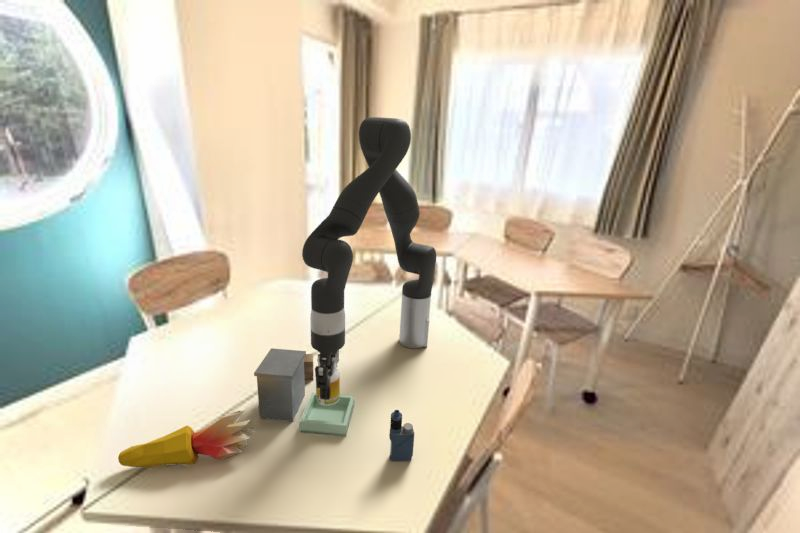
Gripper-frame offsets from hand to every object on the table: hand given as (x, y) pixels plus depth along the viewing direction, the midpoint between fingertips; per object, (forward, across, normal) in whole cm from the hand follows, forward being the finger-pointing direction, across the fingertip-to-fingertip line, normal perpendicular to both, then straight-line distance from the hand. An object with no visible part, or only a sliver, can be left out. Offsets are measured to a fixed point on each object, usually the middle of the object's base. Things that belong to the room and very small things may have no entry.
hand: (328, 390), depth 96 cm
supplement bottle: (+3, 0, 0) cm, 3 cm away
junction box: (+8, +3, +12) cm, 15 cm away
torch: (+8, -15, +25) cm, 31 cm away
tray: (+8, 0, 0) cm, 8 cm away
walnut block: (+8, +16, +10) cm, 21 cm away
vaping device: (+8, -10, -18) cm, 22 cm away
